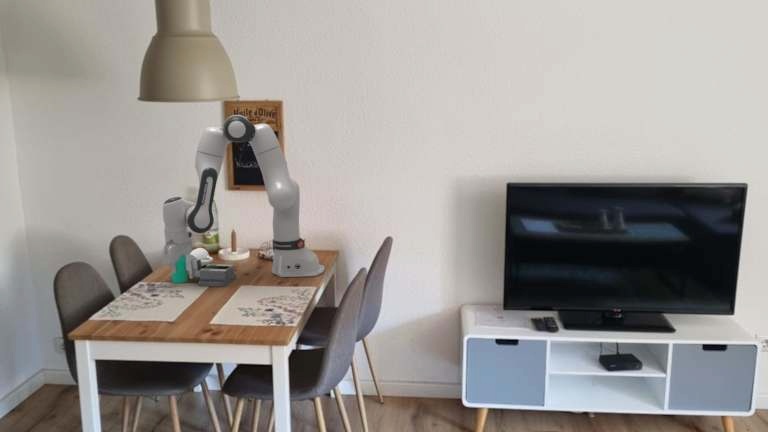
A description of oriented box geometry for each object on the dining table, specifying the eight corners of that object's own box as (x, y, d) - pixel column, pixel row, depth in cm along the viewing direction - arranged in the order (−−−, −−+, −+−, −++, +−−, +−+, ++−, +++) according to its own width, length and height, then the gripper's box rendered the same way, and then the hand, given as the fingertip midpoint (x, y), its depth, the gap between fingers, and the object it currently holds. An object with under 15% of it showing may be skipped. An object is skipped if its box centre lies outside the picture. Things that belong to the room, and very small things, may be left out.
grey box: (235, 277, 311) (234, 263, 309) (224, 286, 299) (223, 271, 298) (210, 277, 313) (209, 262, 311) (199, 285, 301) (197, 271, 300)
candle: (189, 278, 312) (187, 250, 309) (184, 282, 306) (182, 254, 303) (175, 278, 312) (173, 250, 310) (170, 282, 306) (167, 254, 304)
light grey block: (216, 274, 309) (215, 258, 307) (210, 279, 303) (209, 262, 301) (195, 274, 310) (194, 258, 309) (189, 278, 305) (188, 262, 303)
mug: (182, 270, 323) (180, 253, 321) (194, 264, 332) (192, 247, 331) (206, 272, 320) (205, 254, 318) (218, 266, 329) (216, 248, 327)
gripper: (171, 243, 294) (174, 277, 297) (193, 231, 314) (196, 263, 317) (157, 243, 296) (160, 276, 299) (179, 231, 315) (182, 262, 318)
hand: (179, 269), depth 308 cm, fingers open, 6 cm apart
